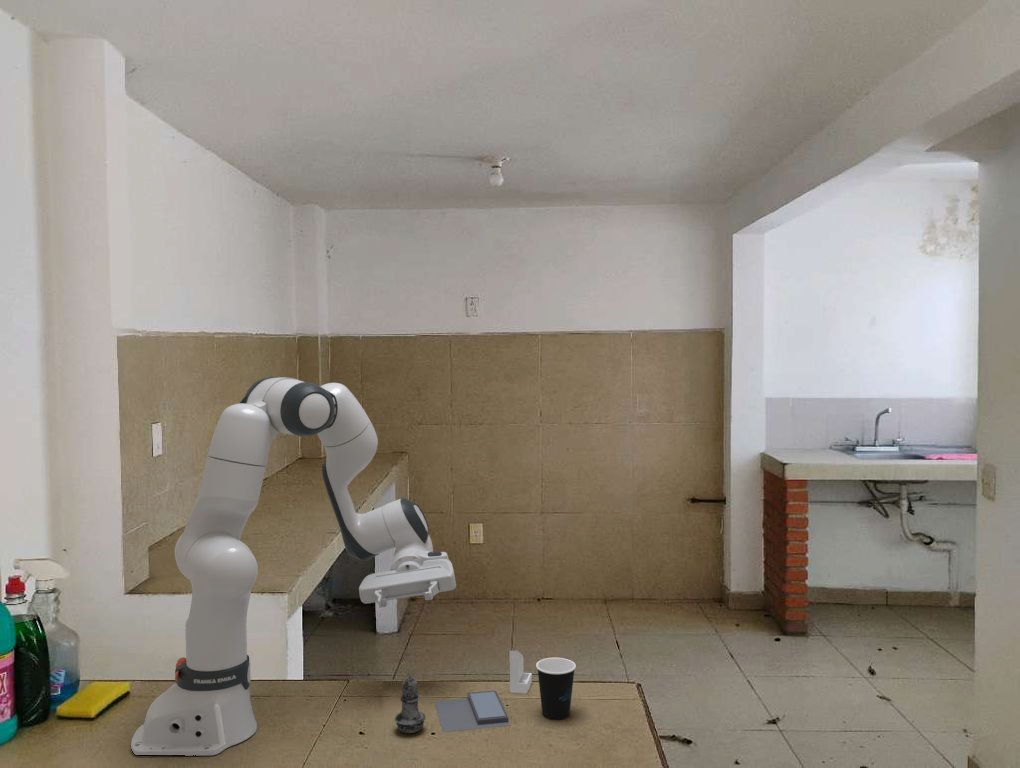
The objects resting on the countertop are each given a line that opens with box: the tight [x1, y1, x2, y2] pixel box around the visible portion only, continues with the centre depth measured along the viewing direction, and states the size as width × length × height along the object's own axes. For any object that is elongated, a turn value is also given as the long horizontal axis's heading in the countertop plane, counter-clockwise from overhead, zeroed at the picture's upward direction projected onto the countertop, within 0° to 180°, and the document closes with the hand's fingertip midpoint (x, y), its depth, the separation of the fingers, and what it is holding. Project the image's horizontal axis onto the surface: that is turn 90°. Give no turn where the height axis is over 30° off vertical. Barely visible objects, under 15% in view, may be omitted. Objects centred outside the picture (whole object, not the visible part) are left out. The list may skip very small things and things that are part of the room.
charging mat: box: [433, 697, 511, 733], centre depth 170 cm, size 13×14×1 cm
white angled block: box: [509, 650, 533, 695], centre depth 181 cm, size 4×10×9 cm, turn 168°
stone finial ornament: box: [394, 673, 426, 734], centre depth 162 cm, size 6×6×12 cm
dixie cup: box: [535, 657, 577, 721], centre depth 169 cm, size 8×8×11 cm
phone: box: [466, 690, 509, 725], centre depth 172 cm, size 6×13×1 cm, turn 12°
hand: (405, 600), depth 172 cm, fingers open, 8 cm apart
